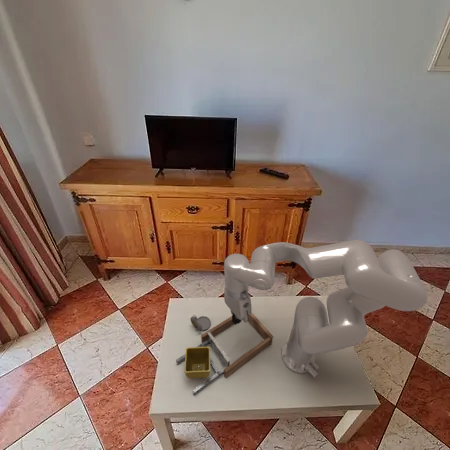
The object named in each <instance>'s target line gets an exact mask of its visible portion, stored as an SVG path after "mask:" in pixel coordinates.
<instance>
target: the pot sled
mask: <svg viewBox="0 0 450 450" xmlns="http://www.w3.org/2000/svg"><path fill="white" fill-rule="evenodd" d="M207 338H208V340H206V341H205V342H203V343H202V342H201V343H200V344H198V345H197V346H196V347H208V346H209V347H210V349H211V350H212V351H213V352H214V353H215V354H214V355H215V356H216V357H217V358H218V360H219V361H220V363H221V365H222V366H223V368H221V369H218V368H217V366H216V364H215V363H214V361H213V360H212V358H211V357H210V368H212V371H213V372H214V373H215V374H213V375H212V376H210V377H208V378H207V380H205V381H203V382H202V383H201V384H200V385H197V386H196V387H195V388H194V389H192V394H193V396H195V395H197V394H198V393H200V392H201V391H202V390H204V389H205V388H207V387H208V386H209V385H210V384H212V383H214V382H215V381H216V380H217V379H219V378H220V377H221V376H224V369H225V368H226V367H228V366H229V365H231V360H230V359H229V357H228V356H227V354H226V353H225V351H224V350H223V348H222V347H221V345H220V343H218V341H217V340H216V338H215V337H213V336H212V334H211V333H210V332H208V333H207ZM185 355H186V353H184V354H183V355H182V356H180V357H178V358H177V359H176V360H175V361H176V365H180V364H181V363H183V362H185Z"/></svg>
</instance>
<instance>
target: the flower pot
mask: <svg viewBox="0 0 450 450" xmlns="http://www.w3.org/2000/svg"><path fill="white" fill-rule="evenodd" d="M185 354H186V355H185V360H184V374H185V376H186V378H188V379H192V380H193V379H208V378H210V377H209V376H210V374H211V365H210V358H211V346H206V347H197V346H195V347H194V346H192V347H191V346H190V347H185Z"/></svg>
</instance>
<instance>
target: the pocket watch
mask: <svg viewBox="0 0 450 450" xmlns="http://www.w3.org/2000/svg"><path fill="white" fill-rule="evenodd" d="M189 320H190V322H191V325H192V326H193V328H194V329H196V331H198V332H200V331H201V332H203V331H206V330H207V331H208V329H210V328H211V324H212V323H211V318H209V317H208V316H204V315H203V316H199V317H197V316H196V314H193V315H192V316H191V317H190V319H189Z"/></svg>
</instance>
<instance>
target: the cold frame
mask: <svg viewBox="0 0 450 450" xmlns="http://www.w3.org/2000/svg"><path fill="white" fill-rule="evenodd" d="M247 317H248V321H247V322H248V323H249V324H250V326H251V327H252V328H254V330H255V331H256V332H257V334H258V335H259V336H260V337H261V338H262V339H263V340H262V341H260V343H258V344H256V345H255V346H254V347H252V348H251V349H250V350H248V351H247V352H246V353H244V354H242V356H240V357H239V358H237V359H236V360H235V361H233V362H232V363H230V365H229V366H228V367H226V368H225V369H224V374H223V377H224V378H225V379H227V378H228V377H230V376H232V375H233V374H234V373H235V372H237V371H238V370H239V369H241V368H242V367H243V366H245V365H247V363H249V362H250V361H251V360H252V359H254V358H255V357H257V356H258V355H259V354H260V353H262V352H263V351H264V350H266V349H267V348H269V347H270V346H271V345H272V343H273V339H274V335H273V334H272V333H271V332H270V331H269V330H268V329H267V328H266V326H265V325H264V324H263V323H262V322H261V321H260V320H259V319H258V318H257V316H255V314H254V313H253V312H251V315H249V314H248V313H247ZM234 325H235V324H234V323H233V322H232V315H231V316H229V317H227V318H226V319H225V320H223V321H221V322H220V323H218V324H217V325H215V326H213V327H212V328H209V330H207V331H205V332H203V333H202V334H201V335H200V341H201V344H202V343H203V342H205V341H206V340H208V338H207V333H208V332H210V333H211V334H212V336H213V337H214V338H216V337H217V336H219V335H220V334H221V333H223V332H224V331H226V330H227V329H229V328H230V327H233V326H234Z"/></svg>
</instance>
